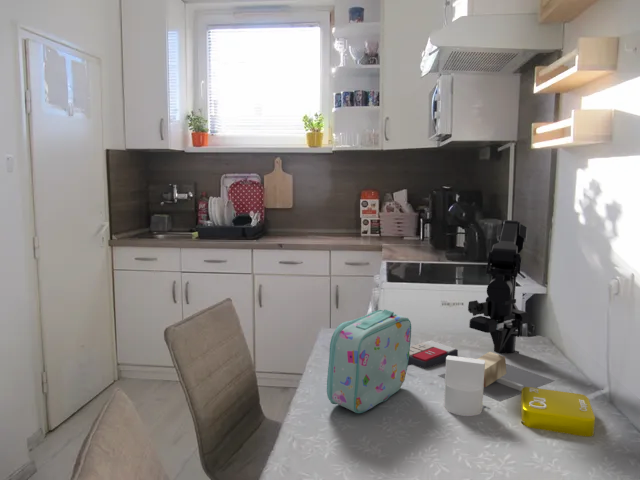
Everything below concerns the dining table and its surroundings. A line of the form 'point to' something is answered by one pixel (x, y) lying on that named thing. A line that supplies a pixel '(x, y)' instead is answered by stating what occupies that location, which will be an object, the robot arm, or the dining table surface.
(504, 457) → the dining table surface
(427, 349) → the calculator
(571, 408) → the element tile
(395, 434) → the dining table surface
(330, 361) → the lunch box
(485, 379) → the beech block
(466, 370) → the cylinder with rectangular tab
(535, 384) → the mat
